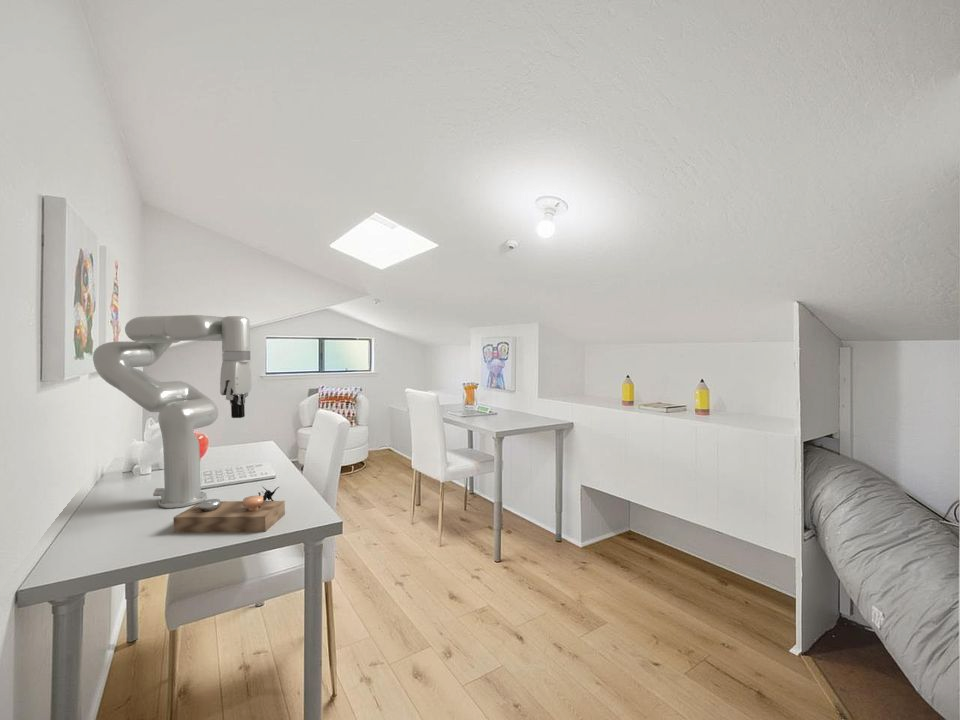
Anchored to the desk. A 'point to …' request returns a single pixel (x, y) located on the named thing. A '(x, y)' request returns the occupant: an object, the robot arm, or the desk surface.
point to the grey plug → (209, 504)
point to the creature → (268, 494)
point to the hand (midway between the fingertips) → (238, 417)
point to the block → (230, 518)
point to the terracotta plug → (253, 502)
